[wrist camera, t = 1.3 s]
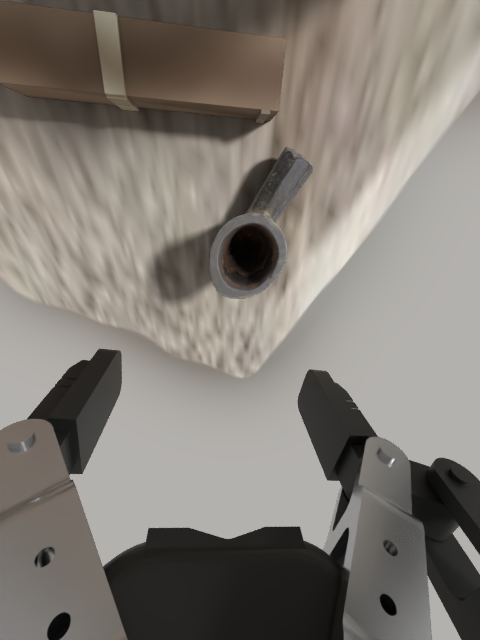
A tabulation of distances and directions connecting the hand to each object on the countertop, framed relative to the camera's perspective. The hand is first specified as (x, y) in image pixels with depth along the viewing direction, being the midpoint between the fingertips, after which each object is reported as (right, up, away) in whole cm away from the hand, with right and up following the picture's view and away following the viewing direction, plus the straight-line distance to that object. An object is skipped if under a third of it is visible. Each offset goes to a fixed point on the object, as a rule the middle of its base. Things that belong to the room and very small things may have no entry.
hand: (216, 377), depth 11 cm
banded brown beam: (-6, +22, +10) cm, 25 cm away
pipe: (+2, +13, +16) cm, 21 cm away
